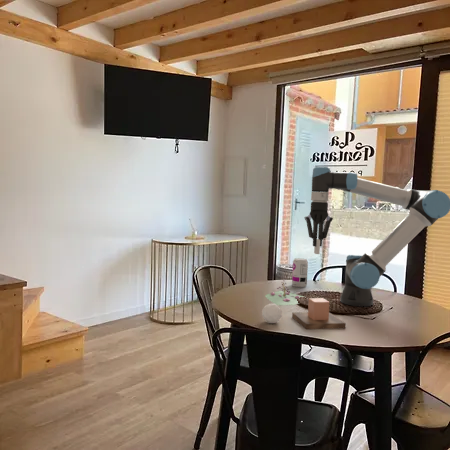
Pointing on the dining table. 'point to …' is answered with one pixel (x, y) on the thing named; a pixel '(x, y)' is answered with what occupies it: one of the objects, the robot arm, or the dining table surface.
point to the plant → (283, 297)
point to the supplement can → (300, 272)
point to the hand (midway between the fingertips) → (316, 253)
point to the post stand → (318, 321)
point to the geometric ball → (271, 313)
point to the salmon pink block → (318, 309)
